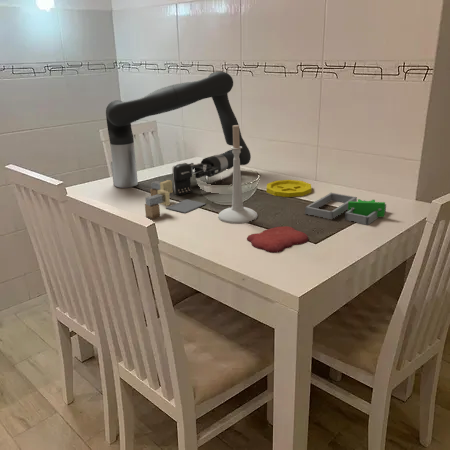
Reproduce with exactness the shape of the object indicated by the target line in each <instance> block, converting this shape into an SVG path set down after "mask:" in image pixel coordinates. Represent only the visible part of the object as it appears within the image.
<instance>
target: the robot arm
mask: <svg viewBox="0 0 450 450" xmlns="http://www.w3.org/2000/svg"><path fill="white" fill-rule="evenodd" d="M233 79H234V78H233V76H231V75H230V74H229V73H227V72H226V71H214V72H211V73H210V74H209V75H208V76H207V77H205V78H202V79H199V80H195V81H187V82H180V83H176V84H171V85H168V86H164V87H161V88H159V89H156V90H154V91H152V92H150V93H148V94H147V95H144V96H143V97H139V98H136V99H132V100H126V101H122V100H119V99H118V100H113V101H110V102H109V104H108V105H107V106H106V107H105V116H106V118H105V119H106V126H107V127H106V128H107V135H108V139H109V145H110V147H109V148H110V153H111V161H110V166H111V167H110V168H111V173H112V175H111V176H112V184H113V185H114V186H115V187H117V188H121V189H122V188H132V187H135V186H138V184H139V182H138V181H139V180H138V170H137V161H136V159H137V158H136V150H135V142H134V141H135V140H134V133H133V131H132V124H133V123H135V122H137V121H139V120H141V119H144V118H147V117H151V116H156V115H160V114H164V113H168V112H172V111H175V110H178V109H181V108H184V107H186V106H189V105H192V104H194V103H196V102H200V101H201V100H206V99H209V98H211V99H212V101H213V103H214V106H215V109H216V112H217V114H218V117H219V122H220V125H221V129H222V132H223V136H224V140H225V142H226V145H228V146H230V147H233V126H234V125H239V123H238V119H237V117H236V115H235V113H234V110H233V108H232V106H231V104H230V100H229V95H228V94H229V93H230V92H231V91H232V89H233V87H234V80H233ZM239 144H240V146H241V147H242V148H241V150H240V151H241V153H240V154H239V158H240V166H247V165H248V164H249V163H250V162H251V157H252V156H251V151H250V150H249V149H250V148H249V147H248V146H247V143H246V142H245V140H244V139H243V136H242V133H241V128H240V127H239ZM233 159H234V154H233V153H232V149H228V150H227V151H225V152H222V153H220V154H214V155H211V156H210V155H209V156H207V157H204V158H202V160H200V163H196V164H194V162H191V163H188V164H189V165H191V168H192V175H194V176H195V179H199V178H202V177H208V178H211V177H214V176H216V175H219V174H221V173H223V172H225V171H227V170H226V169H228V170H231V169H233Z"/></svg>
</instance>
